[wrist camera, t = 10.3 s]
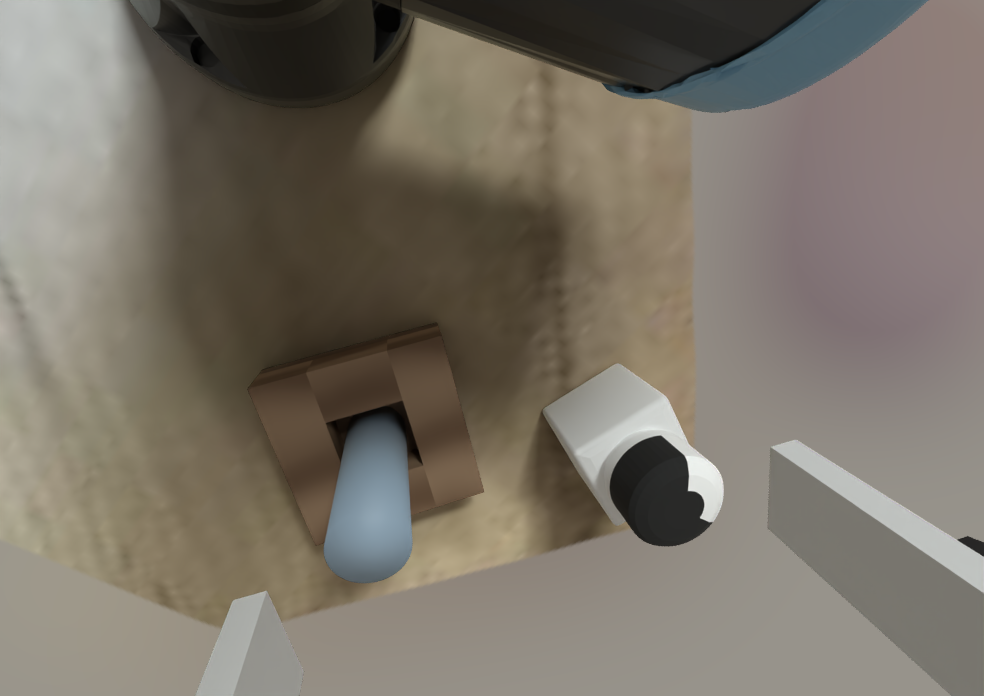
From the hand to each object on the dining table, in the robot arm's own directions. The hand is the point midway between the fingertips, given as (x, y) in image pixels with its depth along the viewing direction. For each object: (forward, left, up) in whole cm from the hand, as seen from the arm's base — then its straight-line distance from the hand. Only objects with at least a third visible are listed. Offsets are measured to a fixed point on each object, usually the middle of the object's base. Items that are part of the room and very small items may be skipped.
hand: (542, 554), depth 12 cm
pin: (+5, -7, -22) cm, 23 cm away
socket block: (+5, -7, -23) cm, 24 cm away
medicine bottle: (+10, +10, -23) cm, 27 cm away
